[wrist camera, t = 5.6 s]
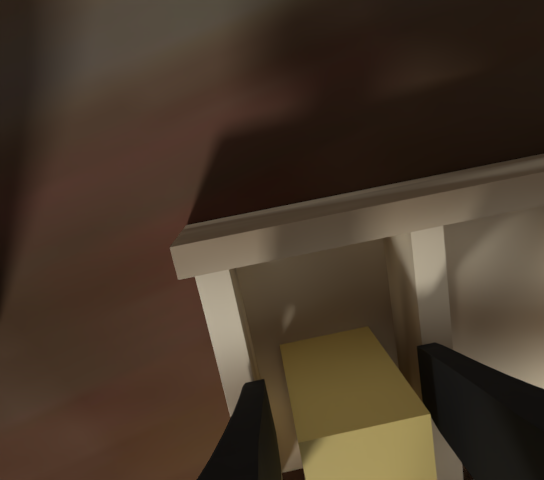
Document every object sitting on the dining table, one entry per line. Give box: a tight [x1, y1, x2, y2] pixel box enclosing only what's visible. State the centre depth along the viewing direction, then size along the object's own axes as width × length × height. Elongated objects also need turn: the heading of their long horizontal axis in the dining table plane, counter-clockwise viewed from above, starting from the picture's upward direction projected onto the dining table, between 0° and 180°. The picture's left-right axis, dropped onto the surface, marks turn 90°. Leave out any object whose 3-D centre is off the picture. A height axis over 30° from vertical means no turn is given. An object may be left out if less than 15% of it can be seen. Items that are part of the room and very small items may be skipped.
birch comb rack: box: [170, 154, 544, 480], centre depth 14 cm, size 11×15×3 cm
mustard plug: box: [280, 326, 437, 480], centre depth 13 cm, size 8×4×5 cm, turn 11°
